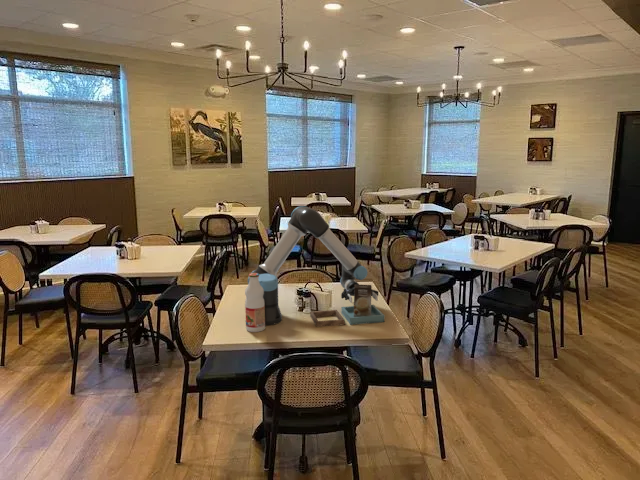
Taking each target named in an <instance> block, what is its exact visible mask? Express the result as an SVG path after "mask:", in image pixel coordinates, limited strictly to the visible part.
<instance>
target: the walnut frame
mask: <svg viewBox="0 0 640 480" xmlns="http://www.w3.org/2000/svg"><path fill="white" fill-rule="evenodd" d="M309 313H310V316H309V317H310V318H311V320H312V321H313V323H314V325H315V327H316V328H321V327H330V326H331V327H332V326H343V325H346V324H345V321H346V319H345V318H344V316H343V315H342V314H341V312H339V311H338V310H337V309H329V310H317V311H309ZM326 316H327V317H329V316H335V317H336V318H337V319H329V320H328V319H327V320H319V319H318V318H317V317H326Z"/></svg>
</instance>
